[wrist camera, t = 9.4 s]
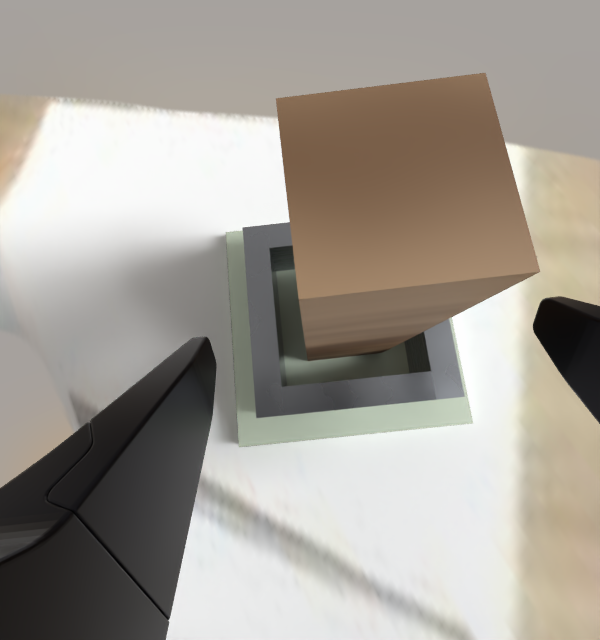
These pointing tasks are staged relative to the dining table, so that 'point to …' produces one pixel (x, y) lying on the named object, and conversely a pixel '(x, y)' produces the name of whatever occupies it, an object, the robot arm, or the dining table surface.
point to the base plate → (320, 375)
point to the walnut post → (398, 210)
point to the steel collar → (279, 399)
